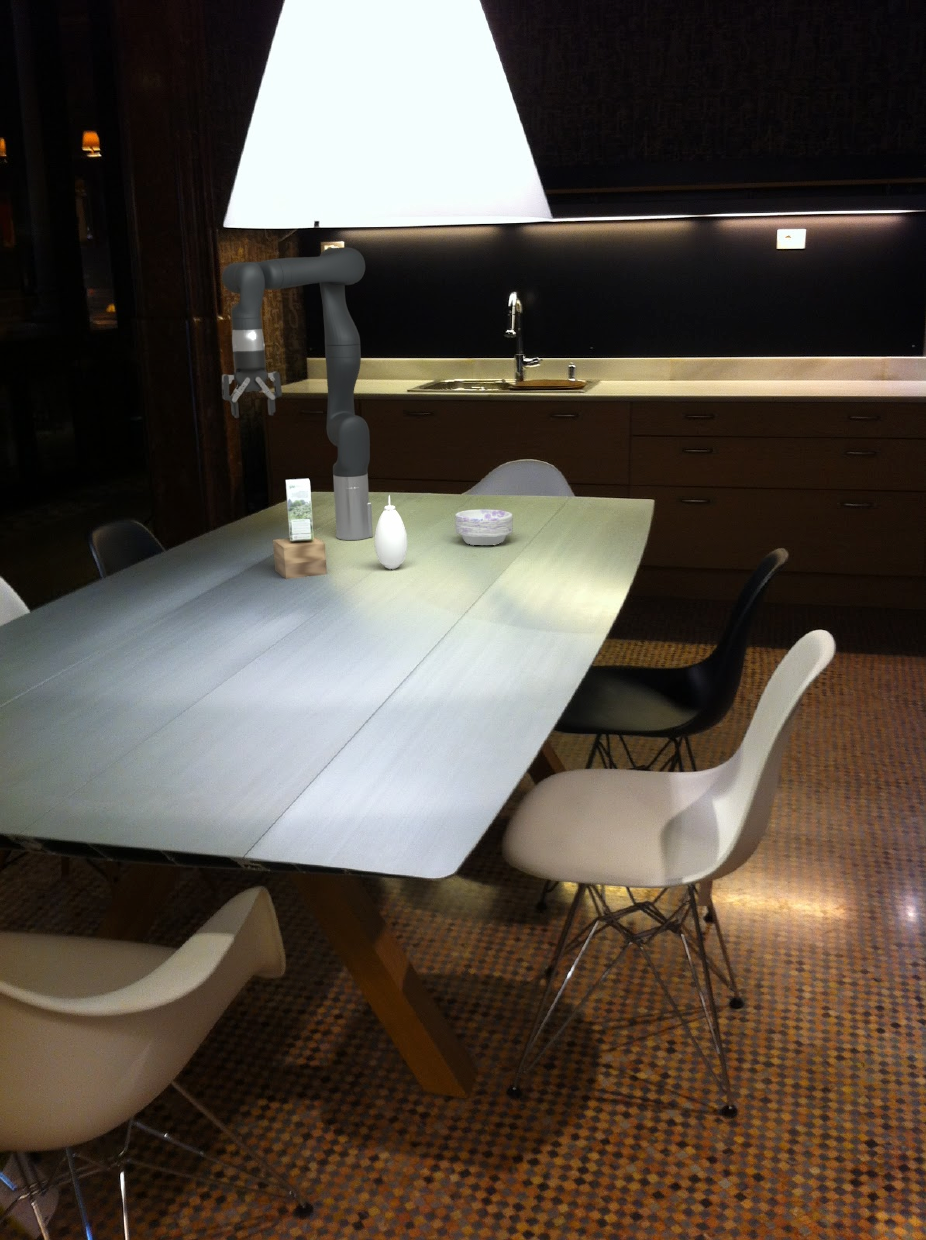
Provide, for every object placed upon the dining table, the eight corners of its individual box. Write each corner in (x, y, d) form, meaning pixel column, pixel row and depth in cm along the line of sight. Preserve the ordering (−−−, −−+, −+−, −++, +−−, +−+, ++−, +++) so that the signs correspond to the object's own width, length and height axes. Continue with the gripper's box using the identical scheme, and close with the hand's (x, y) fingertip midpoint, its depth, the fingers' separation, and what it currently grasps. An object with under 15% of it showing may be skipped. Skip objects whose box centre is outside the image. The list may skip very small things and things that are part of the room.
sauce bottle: (403, 572, 277) (400, 498, 272) (372, 572, 279) (368, 497, 274) (411, 565, 284) (409, 492, 279) (380, 564, 286) (377, 492, 281)
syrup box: (313, 537, 282) (309, 477, 279) (314, 540, 276) (309, 479, 273) (289, 539, 281) (285, 479, 278) (289, 542, 275) (285, 480, 272)
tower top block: (313, 551, 286) (312, 535, 284) (325, 559, 277) (324, 543, 276) (274, 555, 282) (272, 539, 281) (284, 564, 273) (283, 547, 272)
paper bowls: (514, 536, 313) (514, 507, 311) (511, 549, 299) (510, 519, 296) (458, 536, 315) (457, 507, 312) (452, 549, 300) (451, 519, 298)
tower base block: (314, 567, 287) (313, 551, 285) (326, 576, 278) (326, 559, 277) (275, 572, 283) (274, 556, 282) (286, 580, 274) (285, 564, 273)
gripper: (273, 346, 287) (278, 412, 291) (216, 349, 282) (221, 416, 286) (281, 348, 280) (286, 415, 285) (222, 350, 275) (228, 419, 279)
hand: (253, 416), depth 285 cm, fingers open, 8 cm apart
